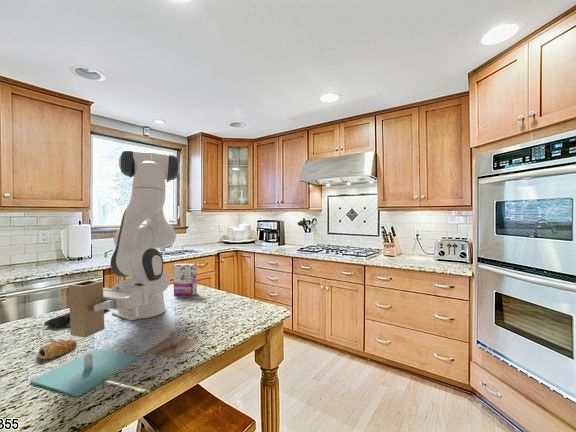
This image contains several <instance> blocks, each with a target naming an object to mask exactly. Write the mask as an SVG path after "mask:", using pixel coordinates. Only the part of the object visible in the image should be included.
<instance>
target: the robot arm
mask: <svg viewBox="0 0 576 432" xmlns="http://www.w3.org/2000/svg"><path fill="white" fill-rule="evenodd" d="M118 166H119V169H120V172H121V173H122V174H123V175H124V176H127V177H130V178H133V181H132V186H131V188H132V189H131V196H130V200H129V202H128V205H127V207H126V208H125V210H124V211H123V214H122V218H121V221H120V222H121V223H120V228H119V229H118V230H116V232H115V234H114V236H113V242H114V243H113V244H114V245H115V248H114V251H113V254H112V255H111V259H110V268H111V271H112V272H113V273H114V275H116V276H117V277H119V278H126V277H130V278H127V279H122V280H119V281H117V282H116V283H115V284H114V286H113V287H112V288H110V287H109V288H108V287H103V299H104V302H102V303H96V304H93V305H92V306H91V308H92V309H91V310H92V311H99V310H104V309H107V310H110V309H112V313H111V314H112V315H114V316H115V317H119V318H123V319H126V320H128V321H136V320H139V319H148V318H153V317H155V316H156V317H157V316H160V315H161V314H163V313H165V312H166V310H167V307H166V303H165V299H164V292H165V291H166V290H167V289H168V287H169V286H170V281H171V278H170V276H169V274H168V272H166V270H165V269H164V258H163V255H162V253H161V252H160V251H159V250H158V249H165V248H167V247H170V246H173V245H174V243H175V242H176V239H177V233H176V230H175V229H174V227H172V226H171V225H170V224H169V223H168V221H167V220H166V218H165V214H164V206H165V202H166V183H169V181H173V180H174V181H175V179H177V178H178V176H179V175H180V171H181V164H180V161H179V158H178V157H177V156H175V155H172V154H170V153H169V154H166V153H162V152H157V151H147V150H134V149H125V150H123V151H122V152H121V154H120V156H119V158H118ZM145 221H146V224H145V225H142V224H143V223H144V222H145Z"/></svg>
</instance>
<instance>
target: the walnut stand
mask: <svg viewBox="0 0 576 432" xmlns="http://www.w3.org/2000/svg"><path fill="white" fill-rule="evenodd" d="M198 342H200V339H193V338H188V337H183V336H178V335H177V331H176V330H171V331H170V333H169V336H168V337H166V338H165V339H163V340H162V341H160V342H159V343H157V344H155V345H153V346H152V347H150V348H148V349H147V350H145V351H144V353H147V354H151V355H156V356H163V357H166V358H167V357H168V358H171V359H177V358H178V357H179V356H181V355H182V354H183V353H185V352H187V350H189V349H191V348H192V347H193V346H194V345H196V344H198Z"/></svg>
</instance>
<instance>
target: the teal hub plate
mask: <svg viewBox="0 0 576 432" xmlns="http://www.w3.org/2000/svg"><path fill="white" fill-rule="evenodd" d="M137 359H140V357H139V356H135V355H131V354H125V353H121V352H115V351H112V350H107V349H103V348H98V347H96V348H94V349H92V350H90V351H88V352H86V353H84V354H82V355H80V356H78V357H76V358H74V359H71V360H70V361H67V362H66V363H64V364H61V365H59V366H58V367H55V368H53V369H52V370H49V371H47V372H45V373H43V374H42V375H40V376H37V377H36V378H33V379H30V381H29V383H30V382H31V383H34V384H33V385H35V384H37V385H36V386H38V385H41V386H44V387H43V388H45V387H47V388H46V389H48V388H51V389H54V390H57V391H56V392H58V391H61V392H63V393H62V394H64V393H67V394H66V395H68V394H70V395H69V396H71V395H72V397H74V396H76V397H75V398H80V397H81V396H83V395H84V394H87V393H88V392H89V391H91V390H92V389H94V388H96V387H97V386H99V385H101V384H102V383H104V382H106V381H107V380H108V378H109V377H110V376H112V375H114V374H115V373H116V372H118V371H120V370H121V369H123V368H125V367H126V366H128V365H130V364H132V363H133V362H134V361H135V360H137ZM31 383H30V384H31ZM41 386H40V387H41ZM95 386H96V387H95ZM51 389H50V390H51ZM54 390H53V391H54ZM61 392H60V393H61ZM79 396H80V397H79Z"/></svg>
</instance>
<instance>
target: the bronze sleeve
mask: <svg viewBox="0 0 576 432" xmlns="http://www.w3.org/2000/svg"><path fill="white" fill-rule="evenodd" d="M103 288H104V281H102V280H93V279H92V280H91V279H89V280H83V281H80V282H76V283H71V284H69V285H68V296H69V297H68V298H69V299H68V300H69V301H68V302H69V303H68V304H69V305H68V306H69V313H70V329H69V330H70V331H69V332H70V336H73V337H79V338H87V337H90V336H92V335H94V334H97V333H100V332H101V331H103V330H106V329H105V311H104V310H99V311H92V310H91V309H92V308H91V306H92V305H93V304H96V303H102V302H104V299H103Z"/></svg>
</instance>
